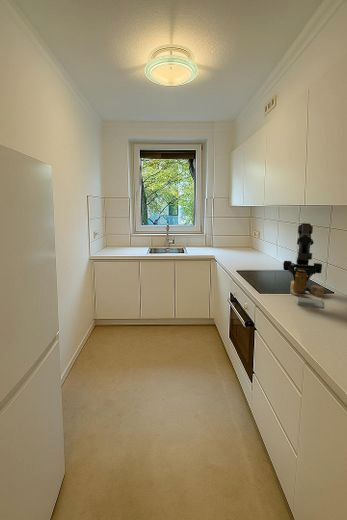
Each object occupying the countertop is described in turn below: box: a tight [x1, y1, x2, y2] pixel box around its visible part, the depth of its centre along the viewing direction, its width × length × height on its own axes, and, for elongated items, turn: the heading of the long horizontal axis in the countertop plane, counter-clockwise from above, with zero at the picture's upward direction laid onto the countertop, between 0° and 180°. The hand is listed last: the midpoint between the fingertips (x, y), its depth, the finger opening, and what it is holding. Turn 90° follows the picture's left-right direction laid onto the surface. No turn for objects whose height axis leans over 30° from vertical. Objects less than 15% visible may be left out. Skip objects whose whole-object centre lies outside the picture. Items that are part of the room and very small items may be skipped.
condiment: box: [292, 269, 311, 296], centre depth 160 cm, size 7×8×12 cm
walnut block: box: [309, 284, 325, 298], centre depth 175 cm, size 5×5×5 cm
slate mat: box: [297, 296, 324, 309], centre depth 161 cm, size 12×12×1 cm
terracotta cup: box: [289, 280, 302, 296], centre depth 178 cm, size 6×6×7 cm
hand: (300, 280), depth 159 cm, fingers closed on condiment, 6 cm apart
